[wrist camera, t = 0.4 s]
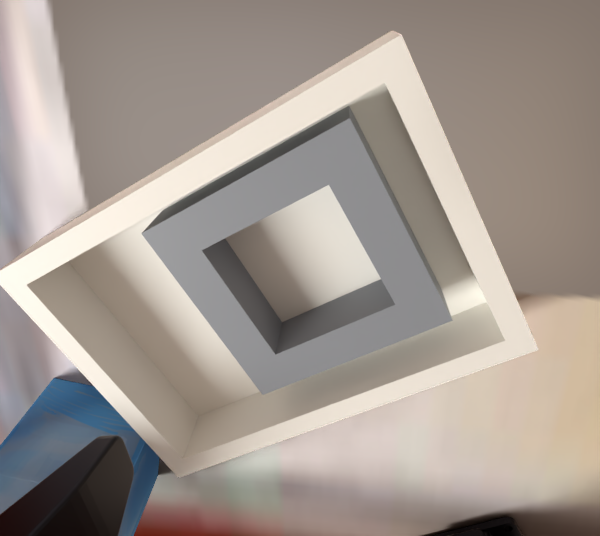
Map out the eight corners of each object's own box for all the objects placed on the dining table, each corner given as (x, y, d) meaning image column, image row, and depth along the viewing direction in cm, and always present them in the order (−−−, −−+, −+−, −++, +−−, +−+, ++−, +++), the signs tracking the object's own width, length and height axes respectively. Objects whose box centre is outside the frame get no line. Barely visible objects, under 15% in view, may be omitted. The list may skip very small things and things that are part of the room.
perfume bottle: (58, 454, 30) (-99, 696, 19) (54, 377, 27) (-134, 613, 17) (157, 475, 30) (55, 726, 20) (164, 400, 27) (49, 649, 17)
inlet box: (512, 303, 23) (538, 349, 19) (197, 425, 28) (178, 477, 25) (391, 30, 18) (401, 34, 15) (39, 240, 23) (-9, 275, 20)
